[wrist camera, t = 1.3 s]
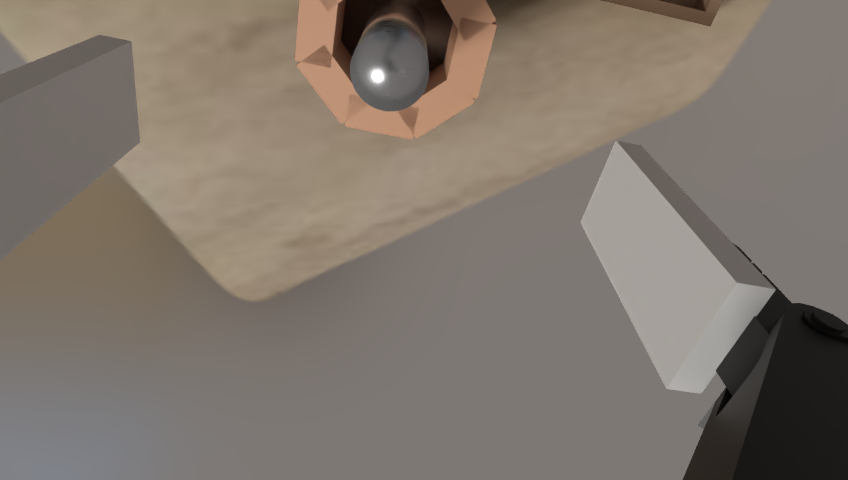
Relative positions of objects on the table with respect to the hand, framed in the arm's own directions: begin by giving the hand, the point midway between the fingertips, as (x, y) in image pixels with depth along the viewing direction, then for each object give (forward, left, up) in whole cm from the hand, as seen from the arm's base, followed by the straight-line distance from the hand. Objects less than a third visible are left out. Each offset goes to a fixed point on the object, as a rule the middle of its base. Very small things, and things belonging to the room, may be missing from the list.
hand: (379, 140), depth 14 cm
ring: (0, 0, -16) cm, 16 cm away
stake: (0, 0, -23) cm, 23 cm away
